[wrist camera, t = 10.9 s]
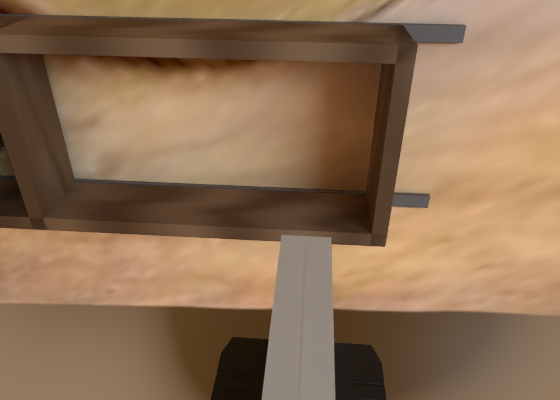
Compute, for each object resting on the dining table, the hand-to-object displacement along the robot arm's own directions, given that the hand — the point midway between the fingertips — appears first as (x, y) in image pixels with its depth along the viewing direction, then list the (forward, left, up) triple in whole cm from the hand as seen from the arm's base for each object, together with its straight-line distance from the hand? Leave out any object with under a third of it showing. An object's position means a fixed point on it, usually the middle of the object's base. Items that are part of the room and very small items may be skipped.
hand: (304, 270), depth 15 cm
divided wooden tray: (0, -10, -13) cm, 17 cm away
